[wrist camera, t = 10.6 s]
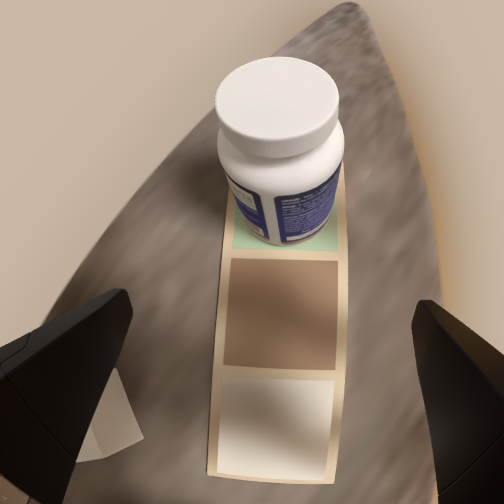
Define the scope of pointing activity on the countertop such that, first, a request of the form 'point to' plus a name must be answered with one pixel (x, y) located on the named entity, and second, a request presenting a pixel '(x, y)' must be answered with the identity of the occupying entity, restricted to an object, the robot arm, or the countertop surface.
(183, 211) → the countertop surface
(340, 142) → the pill bottle
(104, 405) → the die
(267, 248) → the game board
